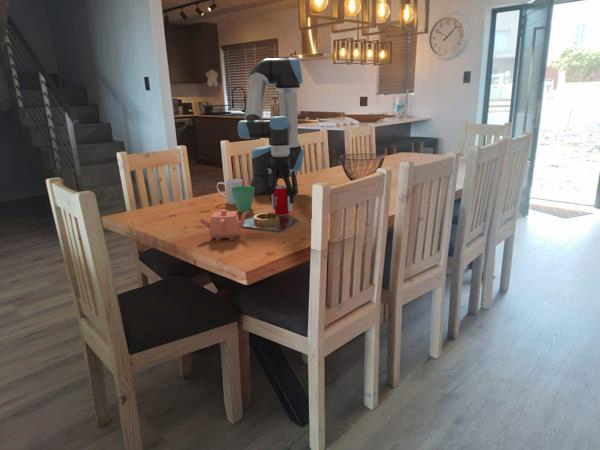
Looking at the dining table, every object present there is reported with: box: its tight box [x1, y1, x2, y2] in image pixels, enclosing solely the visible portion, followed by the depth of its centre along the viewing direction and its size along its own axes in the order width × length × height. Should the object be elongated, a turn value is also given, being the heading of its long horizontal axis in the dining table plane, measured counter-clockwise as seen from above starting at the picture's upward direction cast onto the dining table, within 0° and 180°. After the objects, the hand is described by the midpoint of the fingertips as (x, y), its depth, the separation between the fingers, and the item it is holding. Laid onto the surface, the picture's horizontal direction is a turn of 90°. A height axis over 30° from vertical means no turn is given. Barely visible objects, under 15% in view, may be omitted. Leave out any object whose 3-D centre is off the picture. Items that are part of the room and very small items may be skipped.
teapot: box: [199, 209, 251, 242], centre depth 157 cm, size 14×12×10 cm
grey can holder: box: [241, 212, 299, 233], centre depth 173 cm, size 16×20×3 cm
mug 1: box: [216, 178, 244, 206], centre depth 205 cm, size 12×8×10 cm, turn 91°
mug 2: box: [232, 185, 255, 213], centre depth 193 cm, size 15×10×10 cm
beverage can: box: [274, 184, 291, 217], centre depth 184 cm, size 6×6×12 cm
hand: (282, 209), depth 185 cm, fingers open, 7 cm apart
